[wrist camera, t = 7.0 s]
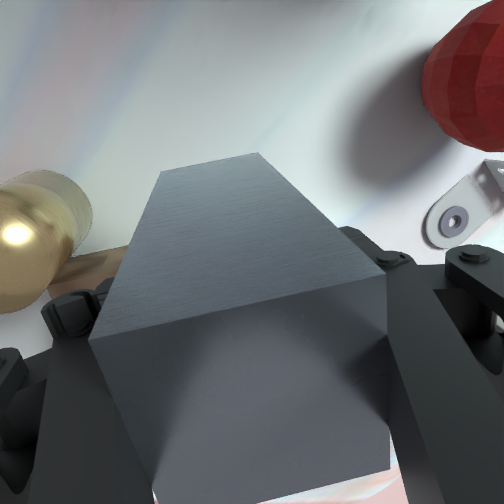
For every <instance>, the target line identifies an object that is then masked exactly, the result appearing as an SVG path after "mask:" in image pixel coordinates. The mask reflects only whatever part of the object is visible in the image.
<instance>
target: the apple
mask: <svg viewBox="0 0 504 504" xmlns="http://www.w3.org/2000/svg"><path fill="white" fill-rule="evenodd" d="M421 90H422V97H423V105H424V106H425V107H426V109H427V110H428V111H429V113H430V114H431V115H432V117H433V118H434V119H435V121H436V122H437V123H438V124H439V126H440V127H441V128H442V129H443V131H444V132H445V133H446V134H448V135H449V136H451V137H453V138H454V139H456V140H457V141H459V142H461V143H462V144H464V145H467V146H470V147H473V148H476V149H479V150H482V151H485V152H504V0H492V1H490V2H488V3H486V4H484V5H482V6H480V7H478V8H476V9H473V10H471V11H470V12H469V13H468V14H467V15H466V16H465V17H464V18H463V19H462V20H461V21H460V22H459V23H458V24H457V25H456V26H455V27H454V28H453V29H452V30H451V31H450V32H449V33H447V34H446V35H445V36H444V37H443V38H442V39H441V40H440V41H439V42H438V43H437V44H436V45H435V46H434V48H433V49H432V51H431V53H430V55H429V57H428V59H427V60H426V62H425V64H424V68H423V75H422V82H421Z"/></svg>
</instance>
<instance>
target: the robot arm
mask: <svg viewBox="0 0 504 504" xmlns="http://www.w3.org/2000/svg"><path fill="white" fill-rule="evenodd" d="M338 229H339V230H340V231H342V232H343V233H344V234H345V235H346V236H347V237H348V238H349V239H350V240H351V241H352V242H353V243H354V244H355V245H356V246H357V247H358V248H360V249H361V250H362V251H363V252H364V253H365V254H366V255H367V256H368V257H369V258H370V259H371V260H372V261H373V262H374V263H375V264H376V265H378V266H379V267H380V268H381V269H382V270H383V271H384V272H385V273H386V292H387V359H388V404H389V429H390V433H391V437H392V441H393V445H394V448H395V452H396V456H397V460H398V464H399V468H400V472H401V475H402V479H403V483H404V487H405V491H406V495H407V498H408V502H409V504H504V329H502V328H501V327H500V326H498V325H497V316H499V317H500V318H501V319H502V321H503V323H504V254H503V253H501V252H499V251H497V250H495V249H492V248H489V247H484V246H481V245H474V244H473V245H472V244H470V245H465V246H457V247H454V248H451V249H449V250H448V251H447V252H446V256H445V264H436V265H417V264H416V263H415V261H414V259H413V258H412V257H411V256H409V255H408V254H405V253H402V252H397V251H384V250H382V249H381V248H380V247H379V246H378V245H376V244H375V243H374V242H373V241H371V240H370V239H369V238H368V237H367V236H365V235H364V234H363V233H362V232H361V231H360V230H358V229H355V228H352V227H349V226H345V227H340V228H338ZM114 279H115V277H111V278H106V279H105V280H104V281H103V282H101V283H100V284H99V285H98V286H97V287H96V289H95V291H94V290H91V289H79V290H75V291H70V292H68V293H65V294H63V295H60V296H58V297H56V298H55V299H53V300H51V301H50V302H48V303H47V304H46V305H45V306H44V307H43V308H42V310H41V314H42V316H43V318H44V320H45V322H46V324H47V326H48V329H49V331H50V333H51V335H52V337H53V345H52V348H51V349H48V350H46V351H44V352H42V353H39V354H37V355H34V356H32V357H29V358H26V359H24V360H23V358H22V356H21V354H20V352H19V351H18V349H16V348H12V347H11V348H2V349H0V504H155V503H154V497H153V491H152V486H151V484H150V482H149V479H148V477H147V475H146V472H145V470H144V468H143V466H142V463H141V461H140V459H139V456H138V454H137V452H136V449H135V447H134V445H133V443H132V440H131V438H130V436H129V433H128V431H127V429H126V426H125V424H124V422H123V420H122V417H121V415H120V413H119V410H118V408H117V406H116V403H115V401H114V399H113V397H112V395H111V392H110V390H109V388H108V385H107V383H106V381H105V378H104V376H103V374H102V372H101V369H100V367H99V365H98V362H97V360H96V358H95V355H94V353H93V351H92V349H91V346H90V344H89V342H88V338H89V336H90V334H91V332H92V329H93V327H94V325H95V322H96V320H97V318H98V315H99V313H100V311H101V309H102V306H103V304H104V302H105V299H106V297H107V295H108V292H109V290H110V288H111V285H112V283H113V281H114Z"/></svg>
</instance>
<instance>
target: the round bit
mask: <svg viewBox="0 0 504 504" xmlns="http://www.w3.org/2000/svg"><path fill="white" fill-rule="evenodd" d="M91 224H92V209H91V205H90V203H89V200H88V198H87V196H86V195H85V193H84V192H83V191H82V189H81V188H80V187H79V186H78V185H77V184H76V183H74V182H73V181H72V180H70V179H69V178H67V177H65V176H63V175H61V174H58V173H55V172H51V171H44V170H37V171H30V172H27V173H24V174H22V175H19V176H17V177H15V178H13V179H11V180H8V181H6V182H4V183H2V184H0V314H6V313H12V312H15V311H18V310H21V309H23V308H25V307H27V306H29V305H30V304H32V303H33V302H34V301H36V300H37V299H38V297H39V296H40V295H41V294H42V293H43V291H44V290H45V289H46V287H47V286H48V285H49V284H50V282H51V281H52V280H53V278H54V277H55V276H56V274H57V273H58V272H59V270H60V269H61V268H62V267H63V265H64V264H65V263H66V261H67V260H68V259H69V257H70V256H71V255H72V254H73V252H74V251H75V250H76V248H77V247H78V246H79V244H80V243H81V242H82V240H83V239H84V238H85V236H86V235H87V234H88V232H89V230H90V227H91Z"/></svg>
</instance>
